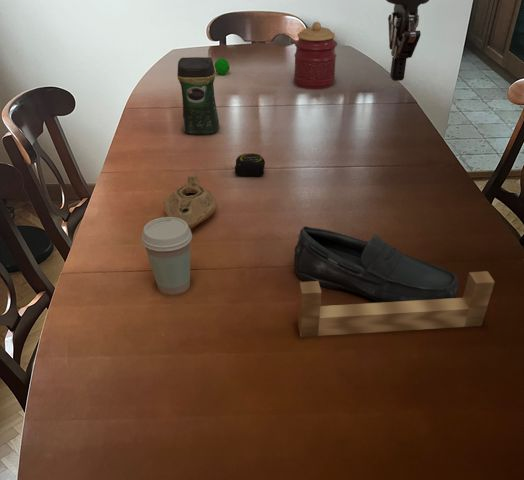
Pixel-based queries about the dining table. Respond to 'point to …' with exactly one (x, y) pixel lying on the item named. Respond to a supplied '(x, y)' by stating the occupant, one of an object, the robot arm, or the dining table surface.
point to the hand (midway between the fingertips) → (396, 79)
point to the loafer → (369, 268)
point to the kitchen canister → (315, 58)
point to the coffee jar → (198, 95)
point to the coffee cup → (169, 253)
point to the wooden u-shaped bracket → (393, 311)
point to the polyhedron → (222, 66)
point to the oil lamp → (190, 202)
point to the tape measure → (250, 165)
